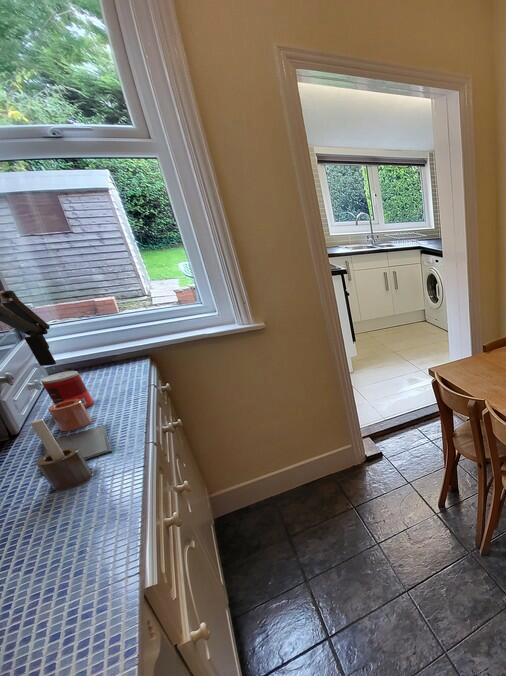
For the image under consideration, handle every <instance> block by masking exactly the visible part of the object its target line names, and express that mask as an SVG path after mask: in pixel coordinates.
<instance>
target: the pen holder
mask: <svg viewBox="0 0 506 676" xmlns="http://www.w3.org/2000/svg"><path fill="white" fill-rule="evenodd" d="M47 410H48V412H49V413H50V416H51V417H52V419H53V421H54V422H55V424H56V426H57V427H58V429H59V430H60V431H61V432H70V431H74V430H78V429H81V428H83V427H86V426H88V425H90V424H91V423H92V421H93V420H92V418H91V416H90V414H89V412H88V411H87V408H85V407H84V405H83V403H82V402H81V400H80V399H73V400H67V401H63V402H60V403H57V404H54V403H53V404H52V405H50V406H49V407H47Z"/></svg>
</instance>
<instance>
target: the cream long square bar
mask: <svg viewBox="0 0 506 676" xmlns="http://www.w3.org/2000/svg"><path fill="white" fill-rule="evenodd" d="M29 424H30V426H31V427H32V429H33V430H34V432H35V433H36V436H38V438H39V440H40V441H41V444H42V443H43V444H44V446H45V448H46V449H47V451H48V452H49V454H50V456H51V457H52V459H53V460H57V459H60V458H63V457H65V455H64V453H63V452H62V450H61V449H60V447H59V445H58V444H57V442H56V439H55V436H54V435H53V433H52V432H51V430H50V429H49V427H48V426H47V424H46V422H45V421H44V419H43V418H38V419H35V420H32V421H30V422H29Z"/></svg>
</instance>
